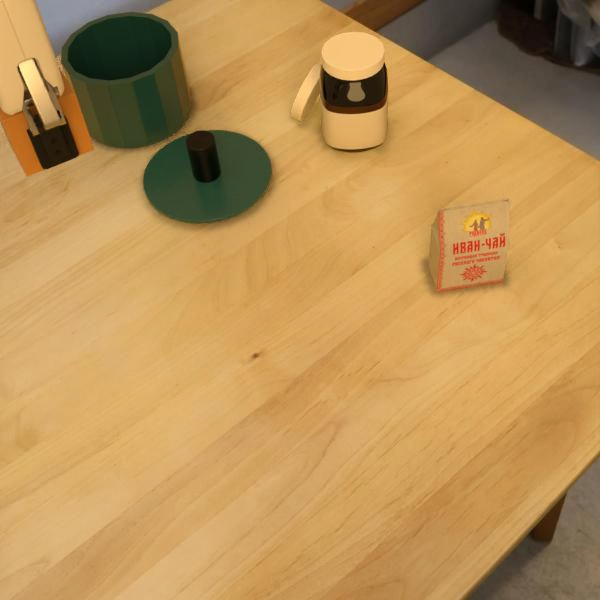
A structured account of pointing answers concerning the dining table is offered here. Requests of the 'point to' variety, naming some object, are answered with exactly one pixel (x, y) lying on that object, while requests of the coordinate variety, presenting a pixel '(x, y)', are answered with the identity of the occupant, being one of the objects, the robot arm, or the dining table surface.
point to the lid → (207, 176)
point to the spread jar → (348, 92)
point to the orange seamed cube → (18, 126)
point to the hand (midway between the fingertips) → (50, 143)
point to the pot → (128, 78)
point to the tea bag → (469, 245)
